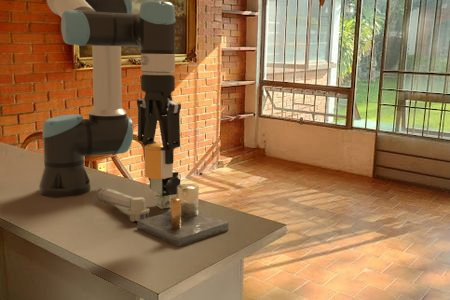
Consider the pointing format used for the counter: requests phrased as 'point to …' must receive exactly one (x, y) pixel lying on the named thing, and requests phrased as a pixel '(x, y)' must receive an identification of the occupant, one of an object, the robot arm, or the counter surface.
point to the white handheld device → (125, 203)
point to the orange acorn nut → (153, 161)
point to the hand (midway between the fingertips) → (158, 174)
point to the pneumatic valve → (165, 189)
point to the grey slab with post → (183, 220)
